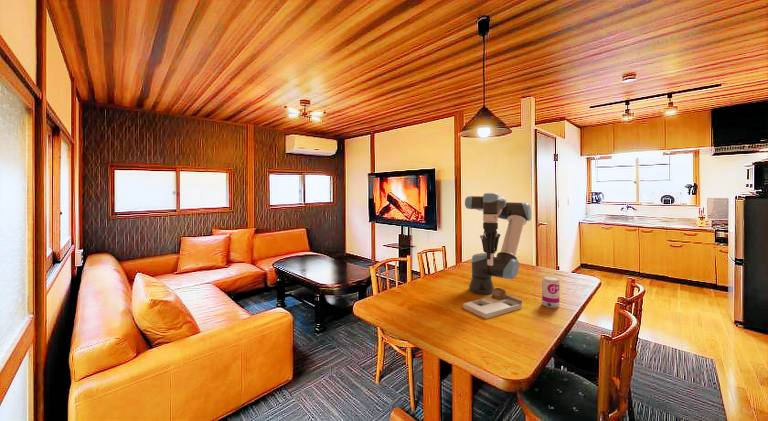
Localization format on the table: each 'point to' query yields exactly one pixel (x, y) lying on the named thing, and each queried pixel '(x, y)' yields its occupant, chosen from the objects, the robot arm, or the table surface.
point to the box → (493, 306)
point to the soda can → (550, 292)
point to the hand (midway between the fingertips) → (490, 265)
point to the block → (498, 294)
